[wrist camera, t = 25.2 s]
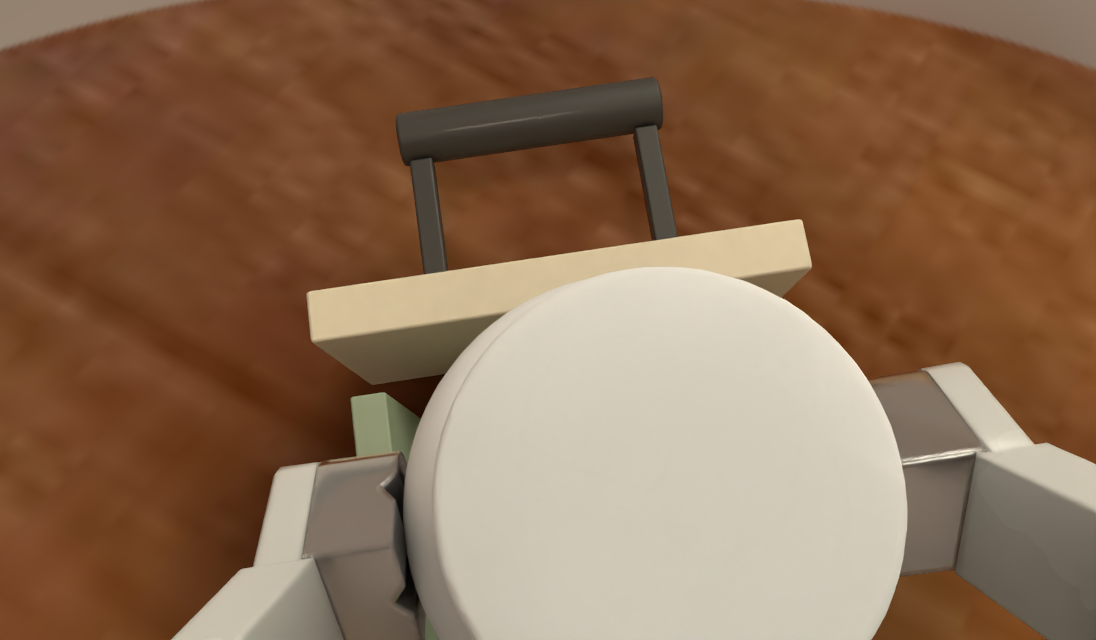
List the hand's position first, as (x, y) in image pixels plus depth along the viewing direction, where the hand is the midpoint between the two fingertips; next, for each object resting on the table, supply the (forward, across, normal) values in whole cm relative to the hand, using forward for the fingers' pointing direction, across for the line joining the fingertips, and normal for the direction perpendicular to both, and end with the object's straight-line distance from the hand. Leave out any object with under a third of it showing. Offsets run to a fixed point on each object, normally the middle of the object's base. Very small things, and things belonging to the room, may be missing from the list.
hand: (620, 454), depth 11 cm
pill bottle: (+4, 0, +5) cm, 6 cm away
